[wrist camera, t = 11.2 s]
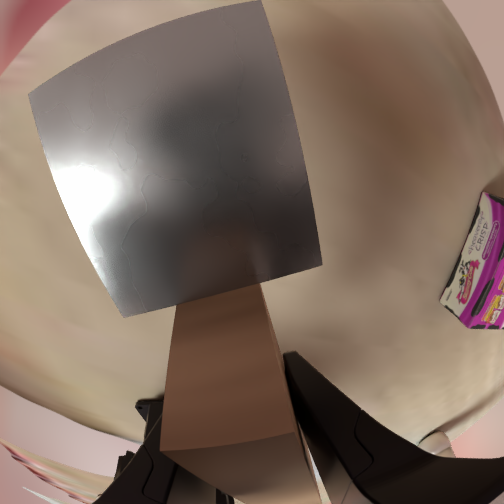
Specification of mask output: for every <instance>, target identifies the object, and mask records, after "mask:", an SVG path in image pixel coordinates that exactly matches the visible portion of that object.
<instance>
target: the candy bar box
mask: <svg viewBox="0 0 504 504" xmlns="http://www.w3.org/2000/svg"><path fill="white" fill-rule="evenodd" d="M440 303H441V304H442V305H443V306H444V307H445V308H447V309H448V310H449V311H450V312H451V313H453V314H454V315H455V316H456V317H457V318H458V319H459V320H460V321H461V322H462V323H463V324H464V325H465V326H466V327H467V328H468V329H504V199H503V198H500V197H497V196H494V195H492V194H489V193H486V192H482V195H481V198H480V202H479V205H478V208H477V211H476V215H475V218H474V221H473V223H472V226H471V229H470V232H469V235H468V237H467V240H466V243H465V245H464V248H463V250H462V253H461V255H460V258H459V260H458V262H457V265H456V267H455V269H454V272H453V274H452V276H451V278H450V280H449V283H448V285H447V287H446V289H445V291H444V293H443V295H442V297H441V299H440Z"/></svg>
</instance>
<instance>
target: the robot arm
mask: <svg viewBox="0 0 504 504" xmlns="http://www.w3.org/2000/svg"><path fill="white" fill-rule="evenodd" d="M283 360H284V368H285V373H286V377H287V381H288V385H289V389H290V393H291V397H292V401H293V405H294V409H295V412H296V416H297V420H298V423H299V425H300V428H301V430H302V433H303V435H304V438H305V440H306V443H307V445H308V448H309V450H310V453H311V455H312V457H313V460H314V462H315V465H316V467H317V470H318V472H319V475H320V477H321V479H322V482H323V484H324V487H325V489H326V492H327V494H328V496H329V499H330V501H331V503H332V504H504V457H500V458H493V459H478V458H477V459H476V458H454V457H443V456H438V455H434V454H432V453H429V452H427V451H425V450H423V449H421V448H420V447H418V446H416V445H414V444H413V443H411V442H409V441H407V440H406V439H404V438H402V437H400V436H399V435H397V434H395V433H394V432H392V431H391V430H389V429H388V428H386V427H385V426H383V425H382V424H380V423H379V422H378V421H376V420H375V419H374V418H372V417H371V416H370V415H369V414H367V413H366V412H365V411H364V410H361V408H360V407H359V406H358V405H357V404H355V403H354V402H353V401H352V400H351V399H350V398H348V397H347V396H346V395H345V394H344V393H343V392H341V391H340V390H339V389H338V388H337V387H336V386H334V385H333V384H332V383H331V382H330V381H329V380H328V379H326V378H325V377H324V376H323V375H322V374H321V373H320V372H318V371H317V370H316V369H315V368H314V367H313V366H312V365H311V364H309V363H308V362H307V361H306V360H305V359H304V358H303V357H302V356H301V355H299V354H298V353H297V352H296V351H291V352H286V353H284V354H283ZM163 405H164V401H146V402H137V403H136V405H135V408H136V409H137V411H138V412H139V413H140V415H141V416H142V417H143V419H144V420H145V421H146V427H145V433H144V442H143V444H142V445H141V446H140V448H139V449H138V451H137V452H136V454H135V453H133V452H131V451H127V452H126V455H124V456H119V459H118V464H117V470H116V474H115V477H114V481H113V482H112V484H111V485H110V486H109V487H108V488H107V489H106V490H105V491H104V493H103V494H102V495H101V496H100V497H99V498H98V499H97V500H96V501H95V502H93V503H92V504H235V503H234V498H233V497H232V496H230V495H228V494H226V493H224V492H223V491H221V490H219V489H217V488H215V487H214V486H212V485H210V484H209V483H207V482H205V481H204V480H202V479H200V478H199V477H197V476H196V475H194V474H192V473H191V472H189V471H188V470H186V469H185V468H183V467H182V466H180V465H179V464H177V463H176V462H174V461H173V460H172V459H170V458H169V457H167V456H166V455H165V454H163V453H162V452H161V451H160V439H161V427H162V415H163Z"/></svg>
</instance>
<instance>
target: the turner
mask: <svg viewBox="0 0 504 504" xmlns="http://www.w3.org/2000/svg"><path fill="white" fill-rule="evenodd" d="M28 95H29V99H30V104H31V108H32V112H33V115H34V119H35V123H36V126H37V130H38V133H39V137H40V140H41V143H42V146H43V149H44V152H45V155H46V158H47V161H48V164H49V167H50V170H51V172H52V175H53V178H54V180H55V183H56V186H57V188H58V191H59V193H60V196H61V198H62V200H63V203H64V205H65V208H66V210H67V212H68V214H69V217H70V219H71V221H72V223H73V226H74V228H75V230H76V232H77V234H78V236H79V238H80V240H81V242H82V244H83V246H84V248H85V250H86V252H87V254H88V256H89V258H90V260H91V262H92V264H93V266H94V268H95V270H96V271H97V273H98V275H99V277H100V279H101V281H102V282H103V284H104V286H105V288H106V289H107V291H108V293H109V294H110V296H111V298H112V300H113V301H114V303H115V305H116V306H117V308H118V309H119V311H120V313H121V314H122V316H123V317H124V318H125V317H129V316H133V315H138V314H142V313H146V312H150V311H154V310H158V309H162V308H167V307H171V306H175V305H177V306H176V312H175V319H174V325H173V332H172V339H171V346H170V353H169V361H168V369H167V377H166V386H165V395H164V405H163V415H162V427H161V439H160V451H161V452H162V453H163V454H165V455H166V456H167V457H169V458H170V459H172V460H173V461H174V462H176V463H177V464H179V465H180V466H182V467H183V468H185V469H186V470H188V471H189V472H191V473H192V474H194V475H196V476H197V477H199V478H200V479H202V480H204V481H205V482H207V483H209V484H210V485H212V486H214V487H215V488H217V489H219V490H221V491H223V492H224V493H226V494H228V495H230V496H232V497H234V498H236V499H237V500H239V501H241V502H243V503H245V504H322V502H321V498H320V494H319V490H318V486H317V482H316V478H315V474H314V470H313V466H312V462H311V458H310V455H309V451H308V447H307V443H306V440H305V438H304V435H303V433H302V430H301V428H300V425H299V423H298V420H297V416H296V412H295V409H294V405H293V401H292V397H291V393H290V389H289V385H288V381H287V377H286V373H285V368H284V363H283V359H282V356H281V353H280V349H279V346H278V343H277V339H276V336H275V332H274V329H273V326H272V322H271V319H270V315H269V312H268V309H267V305H266V302H265V299H264V295H263V292H262V288H261V285H260V283H262V282H265V281H269V280H273V279H276V278H280V277H283V276H287V275H290V274H294V273H297V272H301V271H304V270H307V269H311V268H314V267H318V266H321V265H323V264H322V257H321V251H320V244H319V238H318V232H317V226H316V220H315V214H314V208H313V203H312V197H311V192H310V186H309V181H308V176H307V171H306V166H305V161H304V157H303V152H302V147H301V143H300V138H299V134H298V129H297V125H296V121H295V117H294V113H293V108H292V104H291V100H290V96H289V93H288V89H287V85H286V81H285V77H284V74H283V70H282V66H281V63H280V59H279V56H278V52H277V49H276V46H275V42H274V39H273V36H272V32H271V29H270V26H269V23H268V20H267V17H266V13H265V10H264V7H263V4H262V2H261V0H257V1H251V2H245V3H239V4H234V5H229V6H224V7H219V8H215V9H211V10H207V11H203V12H199V13H195V14H192V15H188V16H185V17H181V18H178V19H175V20H172V21H169V22H166V23H163V24H160V25H157V26H155V27H152V28H149V29H147V30H144V31H141V32H139V33H136V34H134V35H132V36H129V37H127V38H125V39H122V40H120V41H118V42H116V43H114V44H111V45H109V46H107V47H105V48H103V49H101V50H99V51H97V52H95V53H93V54H91V55H90V56H88V57H86V58H84V59H82V60H80V61H79V62H77V63H75V64H73V65H72V66H70V67H68V68H67V69H65V70H63V71H62V72H60V73H58V74H57V75H55V76H54V77H52V78H51V79H49V80H48V81H46V82H45V83H43V84H42V85H40V86H39V87H37V88H36V89H34V90H33V91H32V92H30V93H29V94H28Z"/></svg>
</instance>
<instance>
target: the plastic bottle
mask: <svg viewBox="0 0 504 504" xmlns="http://www.w3.org/2000/svg"><path fill="white" fill-rule="evenodd" d="M418 447H420V448H421V449H423V450H425V451H427V452H429V453H432V454H434V455H438V456H443V457H454V458H456V456H455V454H454V452H453V450H452V447H451V444H450V441H449V438H448V437H447V435H446V434H445V433H444V432H441V431H438V432H435V433H433V434H432V435H430V436H428V437H427V438H426V439H424V440H423V441H422V442H421V443H420V444H419V445H418Z"/></svg>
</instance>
